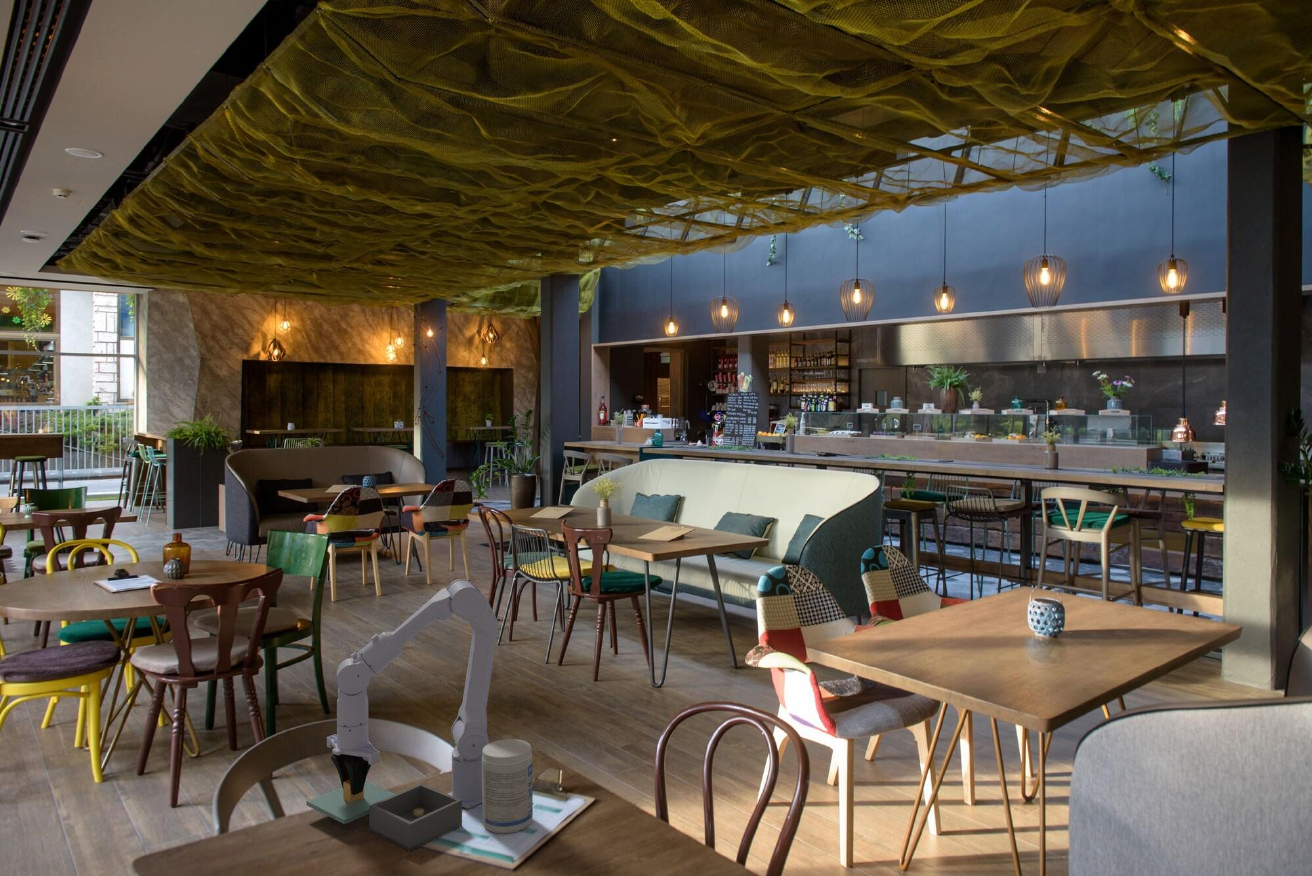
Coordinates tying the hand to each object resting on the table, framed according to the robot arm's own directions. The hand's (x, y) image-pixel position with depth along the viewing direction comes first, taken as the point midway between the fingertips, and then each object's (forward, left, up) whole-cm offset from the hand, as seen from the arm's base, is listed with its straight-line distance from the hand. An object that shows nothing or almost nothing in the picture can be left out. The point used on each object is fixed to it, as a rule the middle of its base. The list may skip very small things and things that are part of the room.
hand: (353, 791), depth 168 cm
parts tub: (-4, +14, -5) cm, 15 cm away
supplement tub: (-16, +26, -5) cm, 31 cm away
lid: (0, 0, -3) cm, 3 cm away
